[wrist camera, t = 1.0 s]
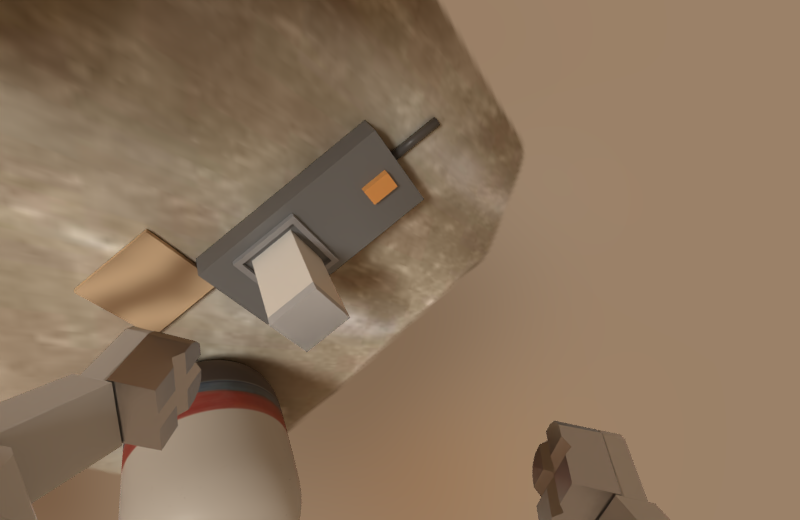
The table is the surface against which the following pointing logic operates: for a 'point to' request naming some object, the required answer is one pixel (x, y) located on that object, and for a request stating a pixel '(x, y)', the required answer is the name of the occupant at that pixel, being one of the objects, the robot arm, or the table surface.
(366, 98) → the table surface
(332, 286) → the block
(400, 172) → the power strip
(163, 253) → the coaster
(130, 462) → the vase
